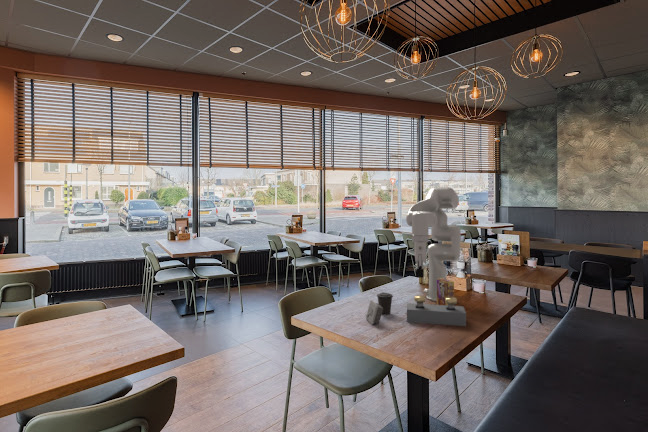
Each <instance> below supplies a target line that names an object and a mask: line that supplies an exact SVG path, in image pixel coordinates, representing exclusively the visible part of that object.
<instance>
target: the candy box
mask: <svg viewBox="0 0 648 432" xmlns="http://www.w3.org/2000/svg"><path fill="white" fill-rule="evenodd" d="M446 297H455V281H453V280H449V279H447V278H446V279H444V278H439V279H437V301H436V305H446V306H448V303H446V302H445V298H446Z"/></svg>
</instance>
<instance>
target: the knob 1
mask: <svg viewBox="0 0 648 432" xmlns="http://www.w3.org/2000/svg"><path fill="white" fill-rule="evenodd" d="M414 302H416V304H417V308H423V304H424V303H426V295H421V294H420V295H418V294H417V295H414Z"/></svg>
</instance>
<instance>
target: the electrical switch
mask: <svg viewBox="0 0 648 432" xmlns="http://www.w3.org/2000/svg"><path fill="white" fill-rule="evenodd" d="M382 311H383V308H382V307H381V306H380V305H379V304H378V303H377V302H375V301H374V300H370V302H369V305H368V308H367V311H366V316H365V320H367V321H368V322H369V324H370V325H371V326H373V325H374V324H375V325H379V324H380V322H381V318H382Z"/></svg>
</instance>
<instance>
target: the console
mask: <svg viewBox="0 0 648 432" xmlns="http://www.w3.org/2000/svg"><path fill="white" fill-rule="evenodd" d="M406 322H407V323H417V324H418V323H419V324H427V323H429V325H431V324H432V325H441V324H442V325H444V326H457V327H467V312H466V309H465V307H464V306H461V305H454V310H448V306H446V305H437V304H427V303H423V308H417V303H408V302H407V303H406Z"/></svg>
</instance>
